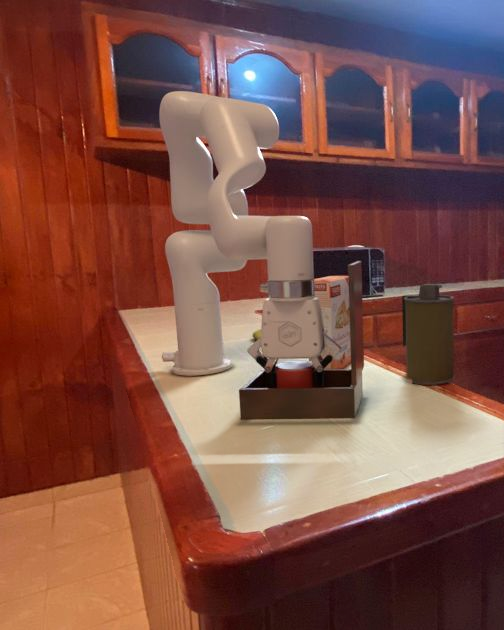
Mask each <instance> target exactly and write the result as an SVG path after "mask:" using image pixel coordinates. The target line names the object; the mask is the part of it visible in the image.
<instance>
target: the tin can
mask: <svg viewBox="0 0 504 630" xmlns="http://www.w3.org/2000/svg"><path fill="white" fill-rule="evenodd" d="M314 371H315V367H314V365H313V363H312V362H311V361H309V360H303V359H302V360H301V359H297V360H288V361H282V362H280V363H277V364H276V386H277V388H314V385H313V372H314Z"/></svg>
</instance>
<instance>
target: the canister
mask: <svg viewBox="0 0 504 630" xmlns="http://www.w3.org/2000/svg"><path fill="white" fill-rule="evenodd" d="M442 288H443V285H442V284H439V283H424V284H420V287H419V291H418V294H404V295H402V297H401V301H402V302H401V303H402V304H401V307H402V309H401V310H402V311H401V313H402V316H401V317H402V348H405V363H406V364H405V366H406V367H405V368H406V369H405V370H406V371H405V372H406V377H407V378H408V379H410V380H411V381H412V384H414V385H422V386H440V385H445V384H449V383H451V382H453V381H454V380H455V378H456V377H455V375H454V373H455V372H454V369H455V368H454V367H455V366H454V365H455V364H454V363H455V362H454V361H455V360H454V359H455V356H454V355H455V354H454V353H455V349H454V348H455V347H454V345H455V343H454V342H455V341H454V338H455V337H454V335H455V333H454V332H455V329H454V328H455V327H454V326H455V324H454V323H455V320H454V319H455V317H454V316H455V312H454V311H455V307H454V306H455V305H454V304H455V297H454V296H453V295H448V294H440V289H442Z"/></svg>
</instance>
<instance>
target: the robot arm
mask: <svg viewBox="0 0 504 630" xmlns="http://www.w3.org/2000/svg"><path fill="white" fill-rule="evenodd" d="M158 116H159V118H158V119H159V126H160V131H161V134H162V136H163V140H164V143H165V146H166V150H167V153H168V158H169V160H168V161H169V179H170V180H169V181H170V183H169V184H170V203H171V211H172V214H173V216H174V218H175V219H176V220H177V222H180V223H183V224H188V225H189V224H190V225H209V227H210V229H188V230H187V229H186V230H181V231H176V232H173V233H172V234H170V235H169V236H168V237H167V239H166V241H165V245H164V252H165V257H166V260H167V261H166V262H167V264H168V269H169V273H170V278H171V283H172V293H173V305H174V315H175V326H176V327H175V328H176V340H177V341H176V342H177V350H176V351H174V352H172V351H163V352H162V354H161V360H162V362H164V363H169V362H173V363H174V365H172V367H171V371H172V373H173V375H177V376H184V377H185V376H186V377H189V376H190V377H192V376H193V377H194V376H205V375H214V374H219V373H221V372H225V371H227V370H229V369H231V367H232V361H231V360H230V359H227V358H224V356H225V355H224V343H223V341H224V340H223V326H222V310H221V298H220V297H221V295H220V291H219V289H218V287H217V285H216V284H215V283H214V282H213V281H212V279H211V278H210V277H209V276H208V274H210V273H225V272H227V273H229V272H236V271H241V270H242V269H243V268H245V266H246V265H247V262H248V260H249V261H252V260H253V261H254V260H266V264H267V281H266V282H265V283H260V284H259V291H260V293H266V294H267V297H268V298H265V299H264V300H263V303H262V304H263V305H262V313H261V314H262V315H261V329H260V330H261V337H260V338H259V339H258V340H255V341H254V342H253V343H252V345H250V346H249V347H248V348H247V350H246V351H247V353H248V355H250V356H251V357H252V359H254V360H255V362H256V363H257V364H258V365H259V366H260V367H261V368H262V369H263V370H265V372H267V380H268V388H277V386H276V366H277V365H278V361H279V360H295V359H297V360H301V359H302V360H303V359H309V358H310V359H311V361H312V363H313V365H314V367H315V371H314V372H313V385H314V388H324V368H325V367H326V366H327V365H328V364H329V363H330V362H331V361H332V360H333V359H334V358H335V357H336V355H337V354H338V353H339V352H340V350H341V347H340V346H339V345H338V344H337V343H336V342H335V341H333V340H332V339H331V338H330V337H329V336H328V335H326V334H325V333H324V325H323V317H322V311H321V306H320V302H319V298H318V297H315V291H314V279H315V270H314V243H313V241H314V240H313V225H312V222H311V220H310V218H308V217H306V216H304V215H303V216H302V215H275V216H274V215H249V205H248V204H249V203H248V200H247V195H246V193H245V191H244V190H245V189H248V188H250V187H253V186H254V185H256V184H257V183H258V182H260V181H261V180H262V179H263V177H264V175H265V174H266V171H267V165H266V161H265V159H264V157H263V154H262V152H261V150H268V149H272V148H273V147H275V146H276V144H277V143H278V140H279V137H280V125H279V120H278V117H277V116H276V114H275V112H274V111H273V110H272V109H271V108H270V107H269V106H268V105H266V104H263V103H259V102H253V101H247V100H243V99H235V98H232V97H231V98H230V97H223V96H216V95H211V94H206V93H201V92H195V91H188V90H187V91H185V90H175V91H170V92H167V93H166V94H165V95H164V96H163V97H162V99H161V101H160V104H159V115H158ZM200 138H203V139H206V142H207V144H208V148H209V150H210V151H209V150H208V148H207V147H206V145H205V144H204V143H203V141H201V139H200ZM213 165H215V167H216V170H217V172H218V175H217V176H216V177H215V179H214V166H213ZM325 345H326V346H327V347H328V348H330V352H329V354H328V355H327V356H326V357H325V358H324V359H323V358H322V356H321V353H322V351H323V350H324V349H325ZM260 350H261V351H260Z"/></svg>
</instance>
